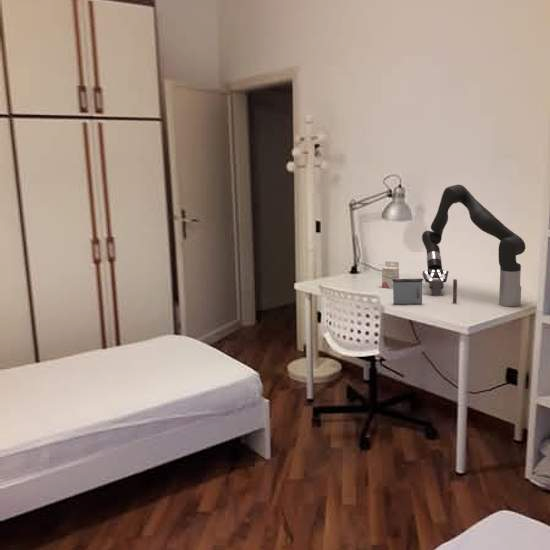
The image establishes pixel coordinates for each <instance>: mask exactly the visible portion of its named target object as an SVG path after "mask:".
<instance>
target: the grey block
mask: <svg viewBox="0 0 550 550" xmlns="http://www.w3.org/2000/svg"><path fill="white" fill-rule="evenodd" d="M410 304H411V305H412V304H413V305H416V304H417V305H419V304H420V305H421V304H423V281H422V282H394V305H410Z"/></svg>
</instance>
